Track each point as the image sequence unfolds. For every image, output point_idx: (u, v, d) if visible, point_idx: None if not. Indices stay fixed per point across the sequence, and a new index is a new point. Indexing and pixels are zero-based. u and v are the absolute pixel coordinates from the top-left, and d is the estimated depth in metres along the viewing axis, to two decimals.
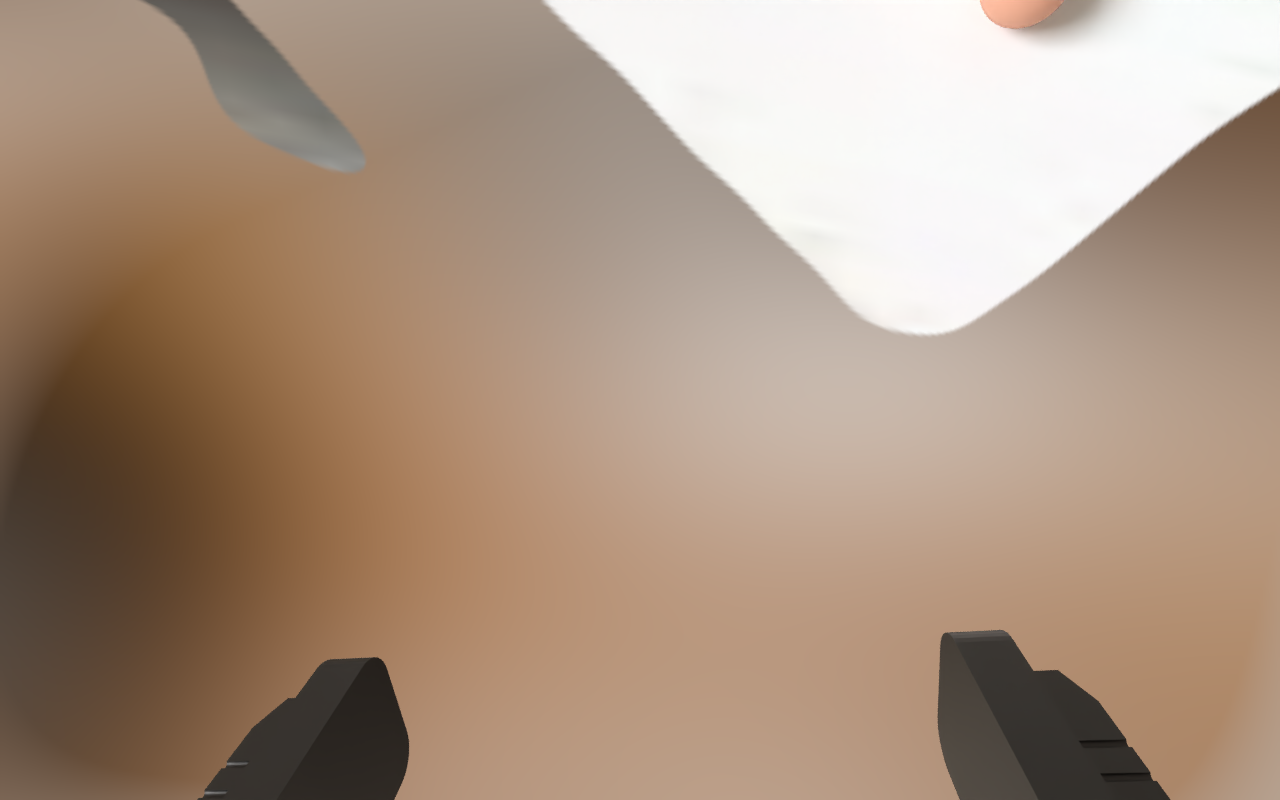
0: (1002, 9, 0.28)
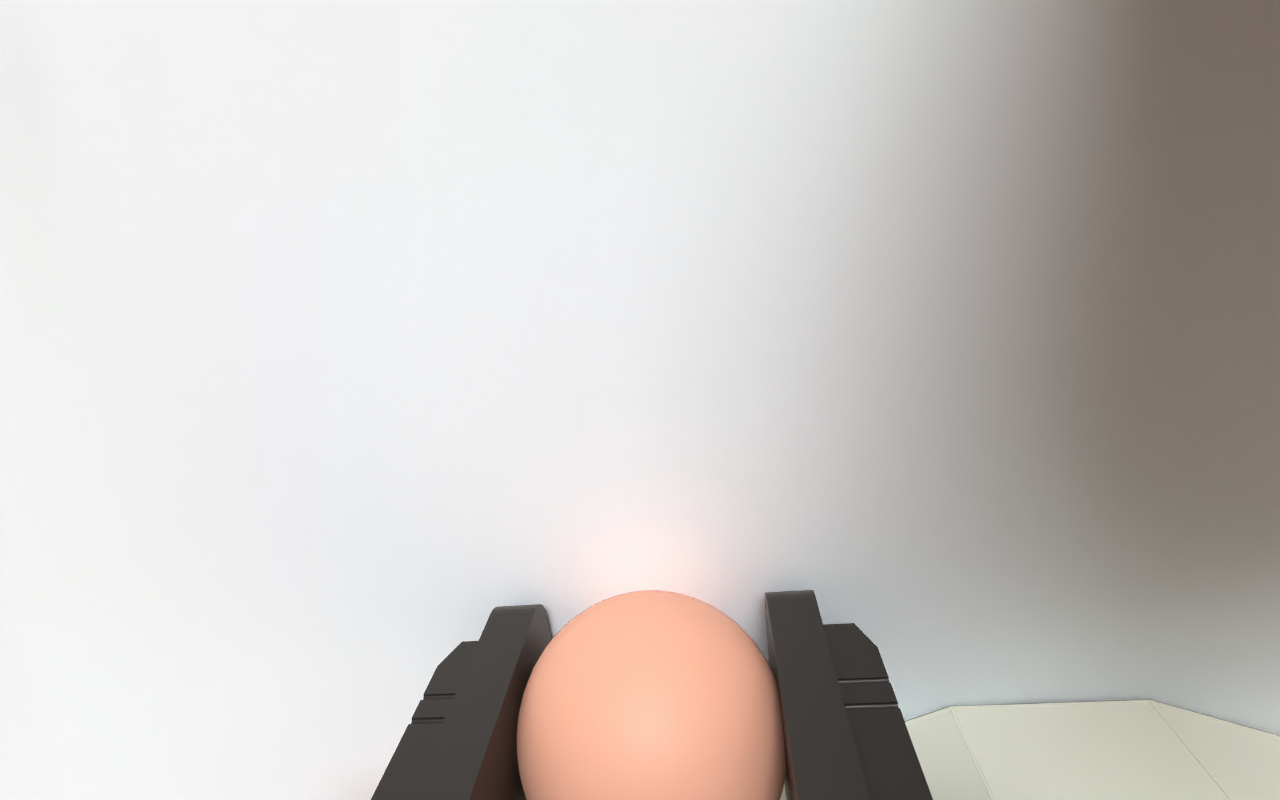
0: None
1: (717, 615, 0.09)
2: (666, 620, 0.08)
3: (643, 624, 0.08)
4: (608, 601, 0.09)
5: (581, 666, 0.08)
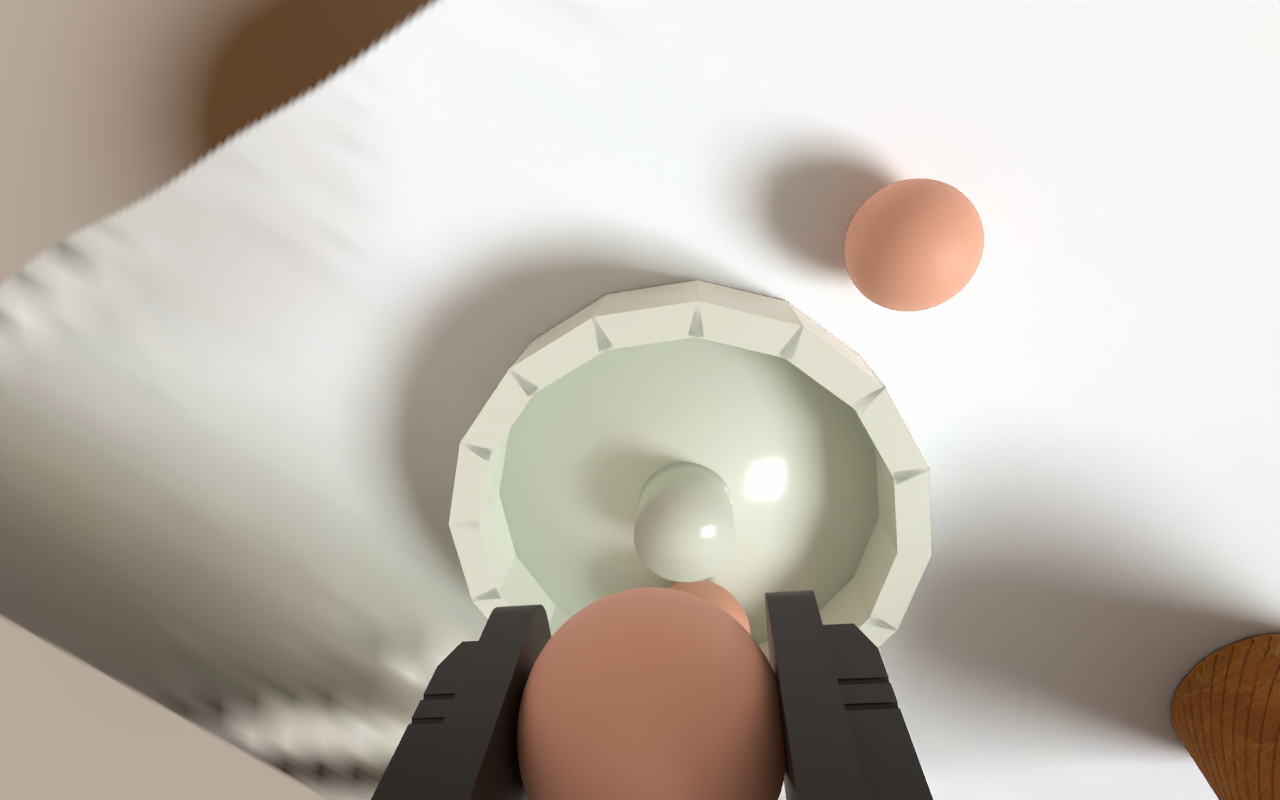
0: (979, 218, 0.17)
1: (717, 612, 0.09)
2: (666, 616, 0.08)
3: (643, 620, 0.08)
4: (608, 598, 0.09)
5: (581, 662, 0.08)
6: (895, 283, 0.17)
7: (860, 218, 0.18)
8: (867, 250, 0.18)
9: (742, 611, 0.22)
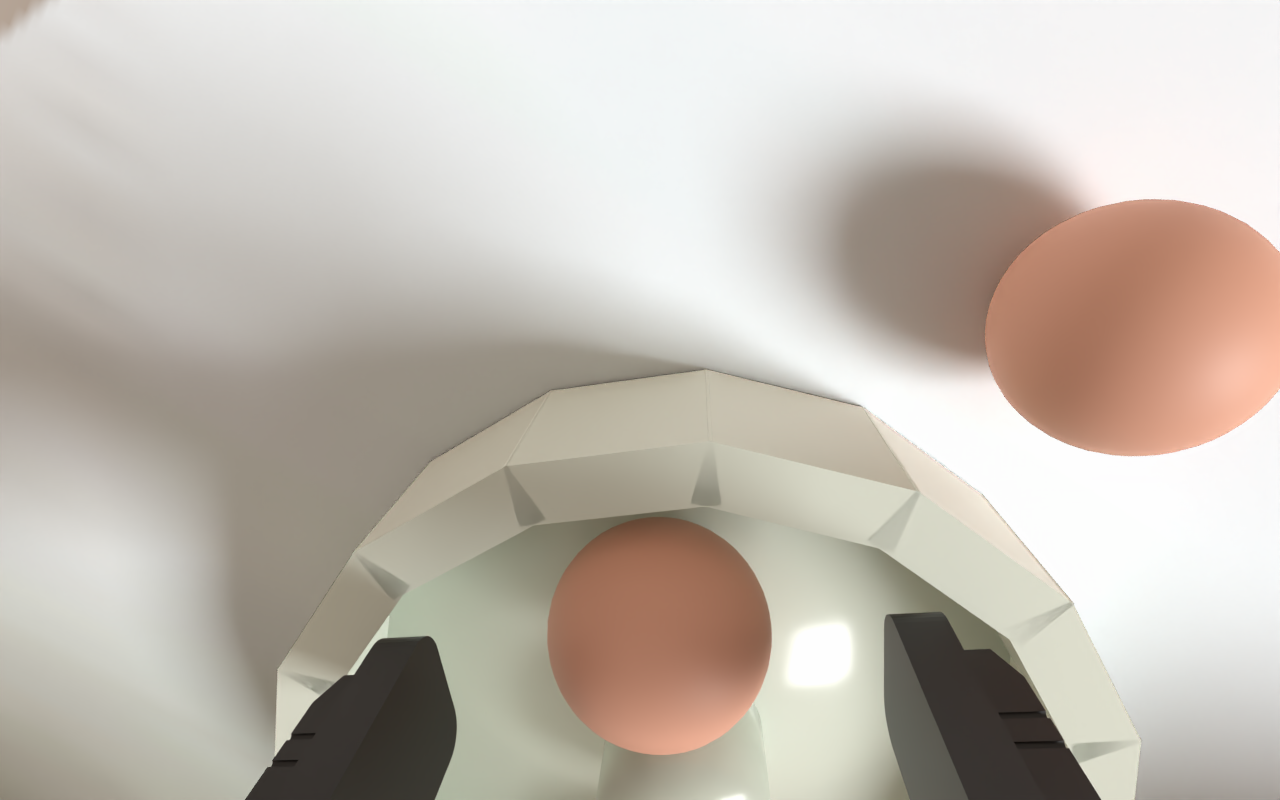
0: None
1: (713, 534, 0.11)
2: (671, 534, 0.10)
3: (652, 537, 0.10)
4: (622, 524, 0.11)
5: (601, 568, 0.10)
6: (1118, 416, 0.08)
7: (1038, 279, 0.09)
8: (1058, 346, 0.09)
9: None
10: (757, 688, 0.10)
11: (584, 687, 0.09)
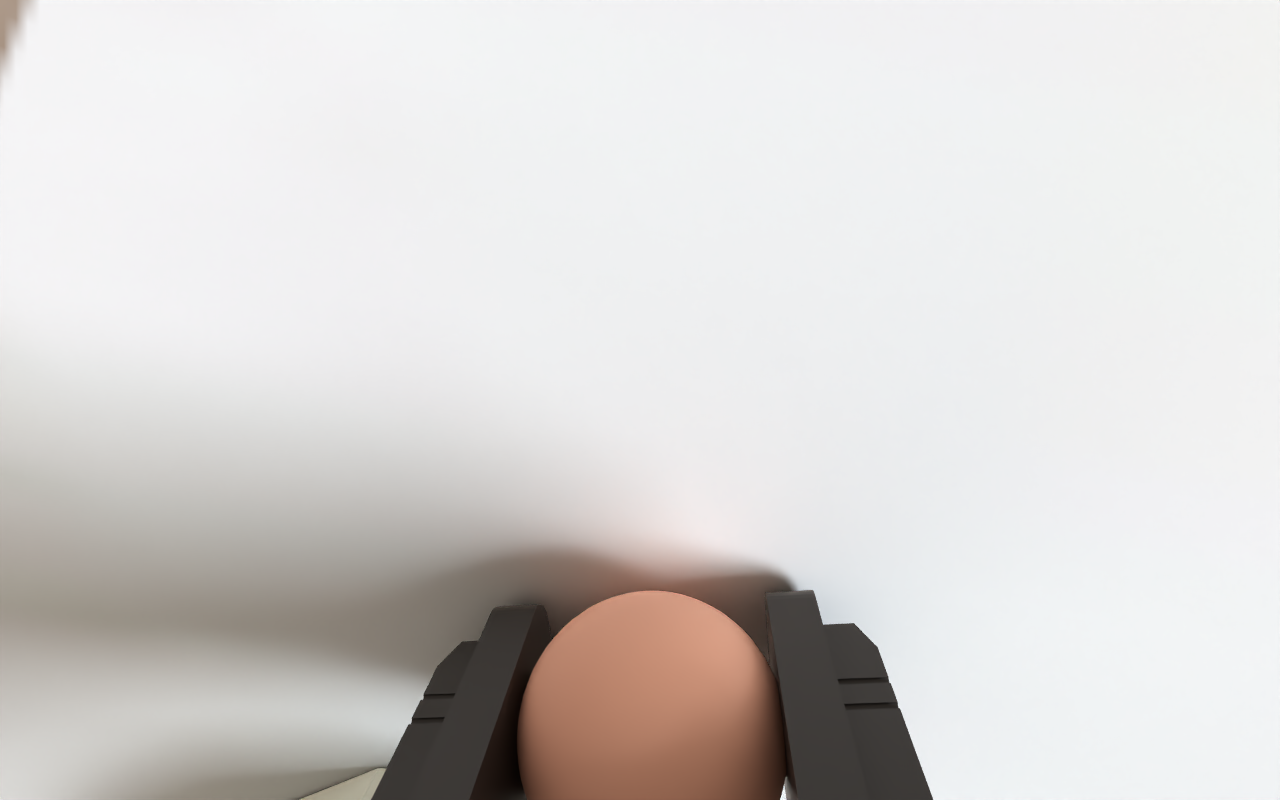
0: (737, 705, 0.08)
1: None
2: None
3: None
4: None
5: None
6: None
7: (517, 735, 0.09)
8: None
9: None
10: None
11: None
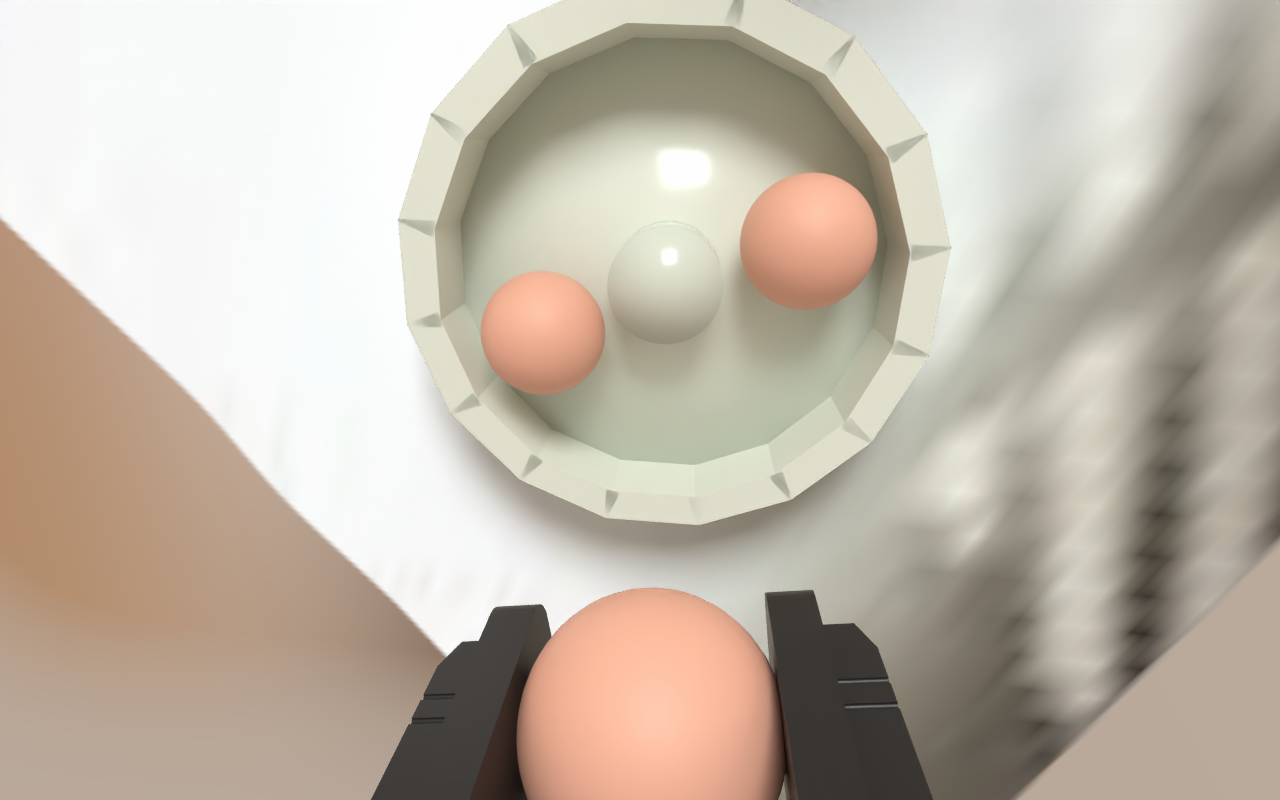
0: (736, 702, 0.08)
1: None
2: None
3: None
4: None
5: (500, 376, 0.19)
6: None
7: None
8: None
9: (762, 193, 0.18)
10: (535, 294, 0.18)
11: (544, 387, 0.19)
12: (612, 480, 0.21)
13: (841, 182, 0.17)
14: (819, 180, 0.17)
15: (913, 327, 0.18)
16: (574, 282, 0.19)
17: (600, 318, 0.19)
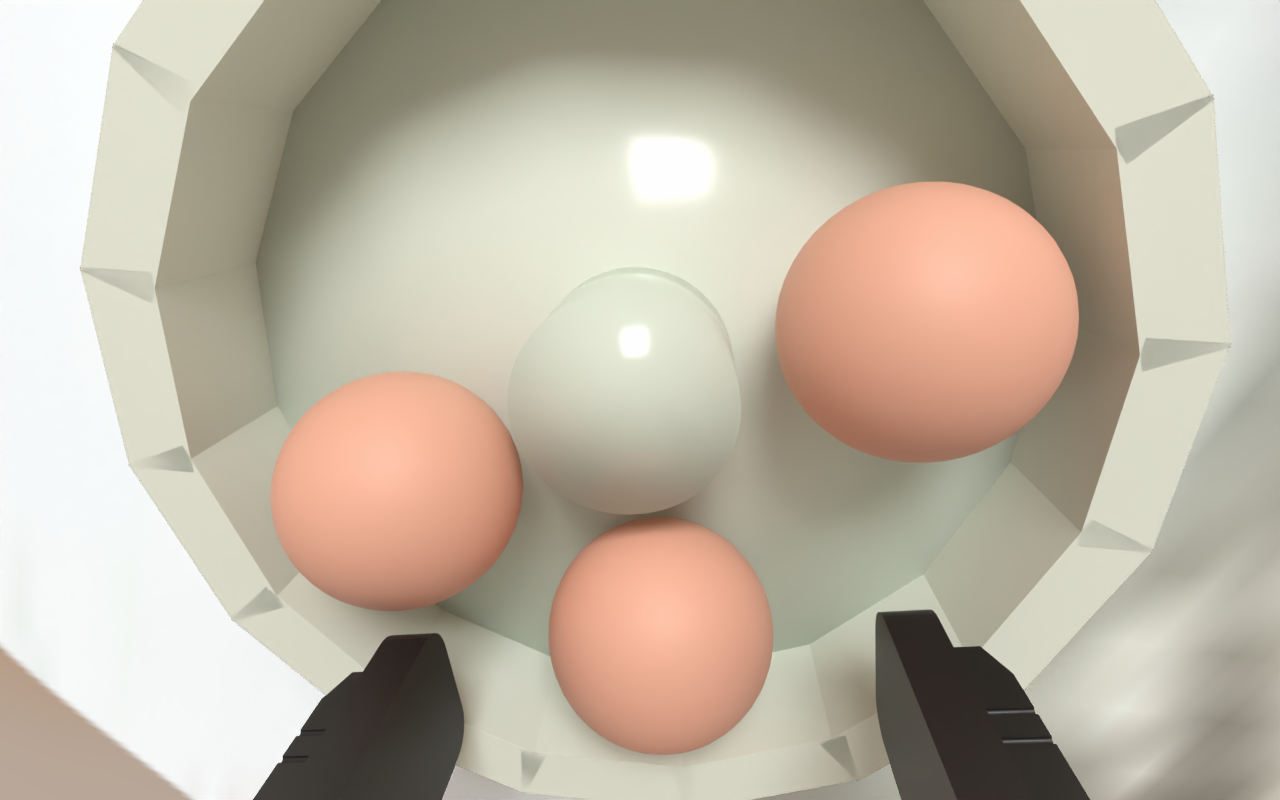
0: (730, 597, 0.10)
1: None
2: None
3: None
4: None
5: None
6: (627, 747, 0.10)
7: (549, 631, 0.10)
8: (566, 697, 0.10)
9: (827, 224, 0.08)
10: (366, 444, 0.09)
11: (402, 609, 0.09)
12: (536, 722, 0.12)
13: (1008, 204, 0.08)
14: (962, 200, 0.07)
15: (1127, 498, 0.09)
16: (456, 399, 0.10)
17: (510, 465, 0.10)
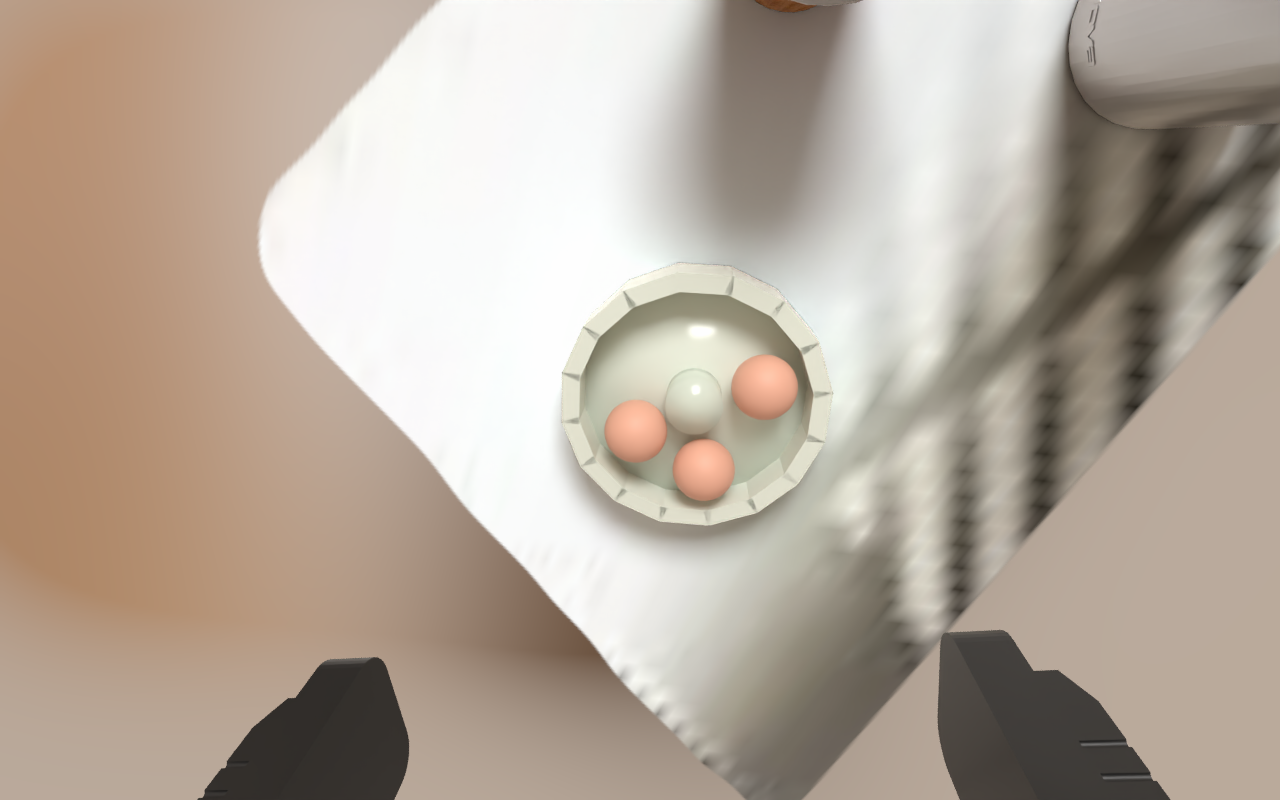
0: (723, 456, 0.37)
1: (606, 421, 0.38)
2: (605, 437, 0.38)
3: (606, 441, 0.38)
4: None
5: None
6: (698, 497, 0.37)
7: (674, 470, 0.38)
8: (681, 485, 0.38)
9: (742, 364, 0.36)
10: (639, 420, 0.36)
11: (642, 461, 0.37)
12: (662, 501, 0.40)
13: (779, 363, 0.35)
14: (769, 363, 0.35)
15: (816, 428, 0.37)
16: (653, 407, 0.37)
17: None
